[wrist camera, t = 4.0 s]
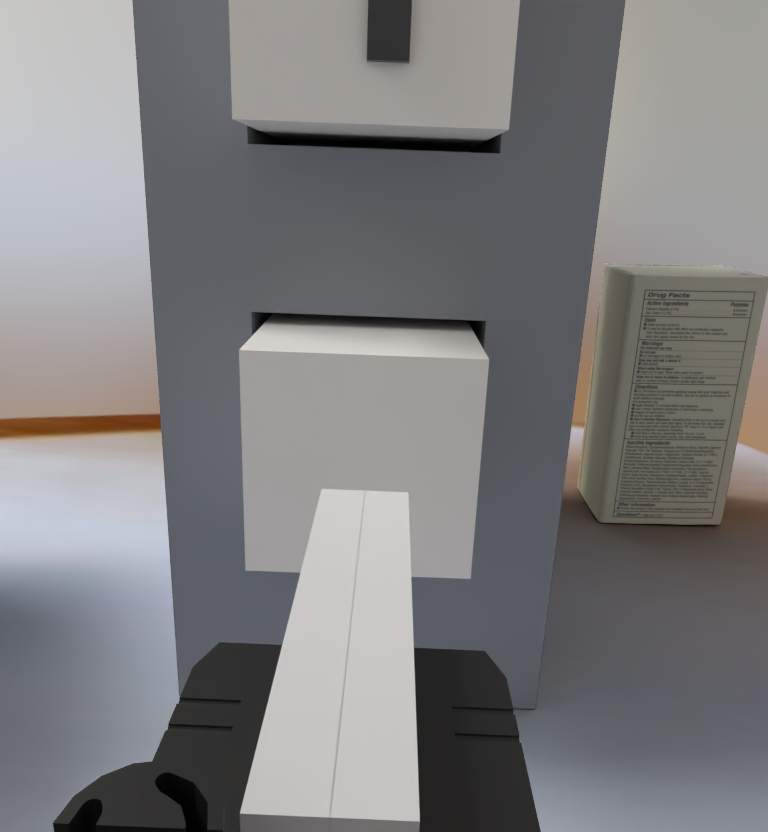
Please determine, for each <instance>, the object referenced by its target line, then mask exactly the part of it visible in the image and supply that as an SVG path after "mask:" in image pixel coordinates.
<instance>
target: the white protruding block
mask: <svg viewBox="0 0 768 832" xmlns="http://www.w3.org/2000/svg"><path fill="white" fill-rule="evenodd" d="M519 7H520V0H229V30H230V64H231V98H232V119H233V120H236V121H238V122H240V123H243V124H245V125H247V126H250V127H252V128H254V129H257V130H259V131H261V132H264V133H266V134H269V135H271V136H273V137H276V138H278V139H291V140H317V141H343V142H369V143H395V144H421V145H448V146H476V145H478V144H480V143H483V142H485V141H487V140H489V139H491V138H493V137H495V136H497V135H499V134H501V133H503V132H505V131H507V130H509V123H510V112H511V100H512V88H513V77H514V65H515V53H516V42H517V30H518V18H519Z"/></svg>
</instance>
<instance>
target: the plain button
mask: <svg viewBox="0 0 768 832" xmlns="http://www.w3.org/2000/svg"><path fill="white" fill-rule="evenodd" d="M239 369H240V403H241V437H242V471H243V505H244V539H245V571H270V572H297V573H301V569H302V565H303V561H304V557H305V553H306V549H307V545H308V541H309V537H310V533H311V529H312V525H313V521H314V517H315V513H316V509H317V505H318V501H319V497H320V493H321V489H338V490H362V491H387V492H408V496H409V525H410V553H411V577H431V578H458V579H471V568H472V556H473V544H474V532H475V521H476V509H477V497H478V486H479V474H480V462H481V451H482V439H483V427H484V416H485V404H486V392H487V381H488V369H489V358H488V356H487V355H486V353H485V351H484V349H483V348H482V346H481V344H480V342H479V340H478V339H477V337H476V335H475V333H474V332H473V330H472V328H471V326H470V325H469V323H468V321H467V320H451V319H425V318H398V317H372V316H345V315H319V314H293V313H273V314H272V315H271V316H270V317H269V318H268V320H267V321H266V322H265V323H264V324H263V325H262V326H261V327H260V328H259V329H258V330H257V331H256V332H255V333H254V334H253V336H252V337H251V338H250V339H249V340H248V341H247V342H246V343H245V344H244V345H243V346H242V347H241V348H240V349H239Z"/></svg>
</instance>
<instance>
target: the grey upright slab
mask: <svg viewBox="0 0 768 832" xmlns="http://www.w3.org/2000/svg"><path fill="white" fill-rule="evenodd" d="M624 7H625V0H520V7H519V18H518V30H517V42H516V53H515V65H514V77H513V88H512V100H511V112H510V123H509V130H507V131H505V132H503V133H501V134H499V135H497V136H495V137H493V138H491V139H489V140H487V141H485V142H483V143H480V144H478V145H476V146H448V145H421V144H395V143H369V142H343V141H317V140H291V139H278V138H276V137H273V136H271V135H269V134H266V133H264V132H261V131H259V130H257V129H254V128H252V127H250V126H247V125H245V124H243V123H240V122H238V121H236V120H233V119H232V98H231V64H230V30H229V0H133V14H134V29H135V44H136V59H137V73H138V87H139V88H138V89H139V103H140V119H141V133H142V148H143V161H144V162H143V163H144V178H145V193H146V208H147V222H148V237H149V252H150V266H151V281H152V297H153V312H154V324H155V325H154V326H155V341H156V356H157V368H158V369H157V371H158V386H159V399H160V400H159V401H160V415H161V430H162V445H163V460H164V475H165V490H166V505H167V519H168V534H169V549H170V564H171V579H172V594H173V608H174V623H175V638H176V653H177V668H178V683H179V696H181V693H182V691H183V689H184V686H185V684H186V682H187V679H188V677H189V675H190V672H191V670H192V668H193V666H194V665H195V664H197V663H198V662H199V661H200V660H201V659H202V658H203V657H204V656H205V655H206V654H207V653H208V652H209V651H210V650H211V649H212V648H214V647H215V646H216V645H217V644H218V643H219V642H227V643H251V644H274V645H282V644H283V640H284V636H285V632H286V628H287V624H288V620H289V616H290V612H291V608H292V605H293V601H294V597H295V593H296V589H297V585H298V581H299V577H300V573H297V572H270V571H245V539H244V505H243V471H242V437H241V403H240V369H239V349H240V348H241V347H242V346H243V345H244V344H245V343H246V342H247V341H248V340H249V339H250V338H251V337H252V336H253V334H254V333H255V332H256V331H257V330H258V329H259V328H260V327H261V326H262V325H263V324H264V323H265V322H266V321H267V320H268V318H269V317H270V316H271V315H272V314H273V313H293V314H319V315H345V316H372V317H398V318H425V319H451V320H467V321H468V323H469V325H470V326H471V328H472V330H473V332H474V333H475V335H476V337H477V339H478V340H479V342H480V344H481V346H482V348H483V349H484V351H485V353H486V355H487V356H488V358H489V369H488V381H487V392H486V404H485V416H484V427H483V439H482V451H481V462H480V474H479V486H478V497H477V509H476V521H475V532H474V544H473V556H472V568H471V579H458V578H431V577H411V582H412V611H413V639H414V648H431V649H455V650H479V651H486V653H487V654H488V655H489V656H490V658H491V659H492V660H493V661H494V663H495V664H496V665H497V666H498V668H499V669H500V670H501V672H502V673H503V674H504V675H505V677H506V678H507V683H508V687H509V692H510V696H511V701H512V705H513V708H519V709H535V708H536V700H537V692H538V684H539V676H540V668H541V660H542V653H543V645H544V637H545V629H546V621H547V613H548V605H549V598H550V590H551V582H552V574H553V566H554V558H555V550H556V543H557V535H558V527H559V519H560V511H561V503H562V495H563V487H564V480H565V472H566V464H567V456H568V448H569V440H570V432H571V425H572V417H573V409H574V400H575V393H576V385H577V377H578V370H579V362H580V353H581V346H582V338H583V330H584V322H585V314H586V306H587V299H588V291H589V283H590V275H591V267H592V259H593V252H594V244H595V236H596V228H597V220H598V212H599V204H600V196H601V187H602V181H603V173H604V165H605V157H606V148H607V141H608V134H609V126H610V118H611V110H612V102H613V94H614V86H615V79H616V71H617V62H618V55H619V47H620V39H621V31H622V23H623V16H624Z"/></svg>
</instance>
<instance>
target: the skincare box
mask: <svg viewBox="0 0 768 832" xmlns="http://www.w3.org/2000/svg"><path fill="white" fill-rule="evenodd" d="M767 289H768V276H762V275H759V274H755V273H750V272H747V271H743V270H739V269H736V268H731V267H729V266H725V265H643V264H610V263H608V264H607V263H606V264H604V269H603V277H602V284H601V293H600V303H599V310H598V318H597V326H596V335H595V343H594V351H593V360H592V369H591V377H590V385H589V394H588V402H587V409H586V419H585V427H584V435H583V443H582V451H581V459H580V467H579V474H578V483H577V488H578V489H579V491H580V493H581V495H582V496H583V498H584V500H585V501H586V503H587V504H588V506H589V508H590V509H591V511H592V512H593V514H594V516H595V517H596V519H597V520H598V521H599V522H601V523H629V524H677V525H698V524H705V525H706V524H711V525H719V524H721V521H722V517H723V512H724V507H725V502H726V497H727V492H728V487H729V482H730V476H731V471H732V466H733V460H734V455H735V450H736V445H737V440H738V436H739V430H740V425H741V421H742V416H743V410H744V405H745V400H746V395H747V390H748V385H749V379H750V375H751V370H752V365H753V360H754V355H755V349H756V345H757V339H758V334H759V329H760V324H761V319H762V314H763V309H764V304H765V299H766V294H767Z"/></svg>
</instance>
